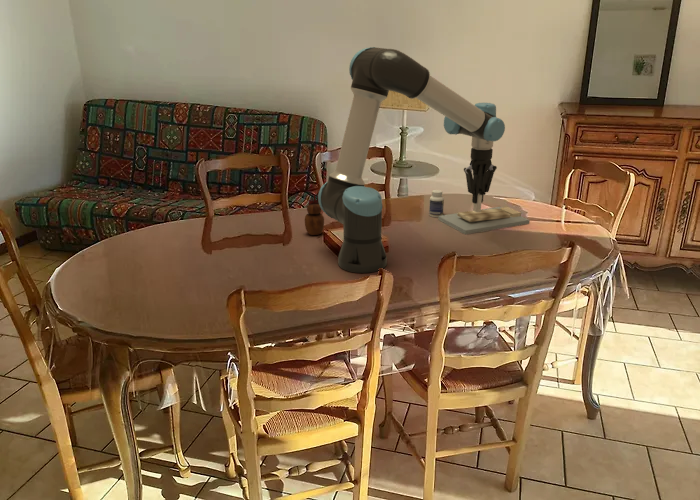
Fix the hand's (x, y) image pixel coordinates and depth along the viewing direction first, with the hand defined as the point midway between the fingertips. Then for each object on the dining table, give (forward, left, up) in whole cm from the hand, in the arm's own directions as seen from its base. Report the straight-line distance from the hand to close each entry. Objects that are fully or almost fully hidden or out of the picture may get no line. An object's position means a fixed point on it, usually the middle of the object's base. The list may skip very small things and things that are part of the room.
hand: (476, 211), depth 218 cm
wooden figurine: (-59, +14, -5) cm, 60 cm away
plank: (+3, 0, -3) cm, 4 cm away
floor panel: (+3, 0, -5) cm, 6 cm away
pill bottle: (-9, +14, -5) cm, 17 cm away
